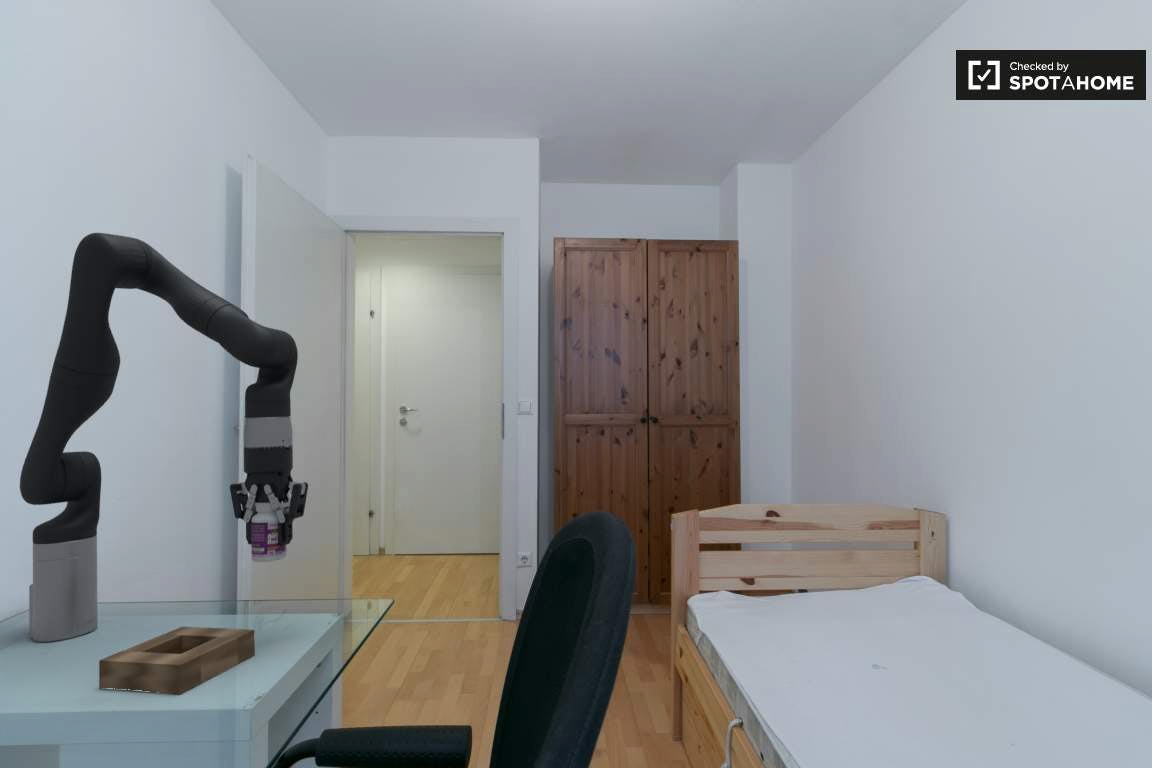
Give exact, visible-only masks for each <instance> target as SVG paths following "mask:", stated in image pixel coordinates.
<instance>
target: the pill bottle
mask: <svg viewBox="0 0 1152 768" xmlns="http://www.w3.org/2000/svg"><path fill="white" fill-rule="evenodd" d="M279 503H281V504H282V503H283V501H282V502H279ZM256 511H257V512H258V514H256V515H254V516H253V518H252V521H251V560H252V561H253V562H258V563H268V562H274V561H279V560H283V559H284V558H286V556H287V552H288V551H287V545H288V544H287V545H279V544H278V524H279V523H280V522H279V519H278V517H277V514H276V512H275V511H274V510H273V509H272V506H271V503H256Z"/></svg>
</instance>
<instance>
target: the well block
mask: <svg viewBox="0 0 1152 768" xmlns="http://www.w3.org/2000/svg"><path fill="white" fill-rule="evenodd" d="M255 641H256V640H255V629H247V628H246V629H243V628H223V627H222V628H221V627H200V626H198V627H196V626H195V627H193V626H180V627H178V628H176V629H173V630H171V631H168V632H166V633H164V634H161V635H158V636H156V637H153V638H151V639H149V640H146V641H144V642H141V643H139V644H135V645H133V646H131V647H129V648H126V649H124V650H121V651H119V652H117V653H114V654H111V655H109V656H106V657H104V658H101V659H100V660H98V670H99V671H98V673H99V675H98V678H99V679H98V682H99V684H98V685H99V687H98V688H113V689H114V688H115V689H127V690H128V689H130V690H142V691H150V692H159V693H158V694H164V693H167V694H166V695H182V694H184V693H186V692H188V691H191V690H192V689H194V688H196V687H197V686H200V685H202V684H203V683H205V682H207V681H209V680H211V679H213V678H215V677H217V676H218V675H220V674H222V673H224V672H225V671H226V672H227V671H228V670H230V669H232V668H234V667H235V666H237V665H239V664H241V663H243V662H245V661H247V660H249V659H250V658H253V657H254V656H255V654H256V653H255V652H256V651H255V650H256V649H255V648H256V647H255V646H256V645H255V644H256V643H255ZM150 692H149V693H150Z"/></svg>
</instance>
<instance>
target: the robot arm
mask: <svg viewBox="0 0 1152 768" xmlns="http://www.w3.org/2000/svg"><path fill="white" fill-rule="evenodd" d="M70 275H71V276H70V283H69V284H70V285H69V292H68V301H67V306H66V311H65V317H64V322H63V325H62V332H61V336H60V340H59V343H58V347H57V351H56V353H55V354H56V355H55V357H54V360H53V364H52V367H51V372H50V376H49V382H48V384H47V385H48V386H47V390H46V394H45V400H44V403H43V408H42V411H41V415H40V418H39V422H38V424H37V427H36V430H35V433H34V436H33V438H32V440H31V443H30V446H29V448H28V451H27V453H26V457H25V459H24V462H23V465H22V468H21V472H20V476H19V477H20V478H19V492H20V495H21V498H22V499H23V501H25V502H26V504H29V505H33V506H43V505H54V504H60V503H61V504H63V503H66V506H65V508H64V510H63V511H61V512H60V513H59V514H58V515H56V516H55V517H52V518H50V519H49V520H47V521H44V522H43V523H40V524H38V525H36V526H35V527H34V528H33V529H32V530H33V531H32V583H31V584H30V585H29V587H28V588H29V589H28V595H29V596H28V599H29V600H28V603H29V604H28V607H29V608H28V610H29V611H28V614H29V615H28V618H29V619H28V620H29V625H28V627H29V628H28V630H29V632H28V633H29V634H28V635H29V636H28V637H29V638H30V639H32V640H33V641H34V642H39V643H40V642H41V643H43V642H56V641H61V640H67V639H71V638H75V637H79V636H81V635H82V636H83V635H85V634H88V633H91V632H93V631H95V630H96V629H97V628H98V525H99V522H100V521H99V520H100V515H101V514H100V512H101V509H100V507H101V493H102V468H101V464H100V463H101V462H100V461H99V459H98V457H97V455H95V454H94V453H93V452H92V451H91V452H90V451H84V450H83V451H66V452H64V450H65V448H66V446H67V445H68V443H69V441H70V439H71V438H72V436H73V435H74V434H75V432H76V431H78V429H79V428H80V427H81V426H82V425H84V424H85V423H86V422H87V421H88V420H89V419H90V418H91V417H92V416H94V414H96V413H97V412H98V411H99V410H100V409H101V408H102V407H104V405H105V404H106V403H107V401H108V400H109V399H110V398H111V396H112V394H113V392H114V389H115V385H116V381H117V378H118V374H119V371H120V366H121V356H120V350H119V347H118V345H117V342H116V340H115V338H114V337H115V336H114V334H113V332H112V329H111V326H110V321H109V315H110V307H111V305H112V304H111V303H112V299H113V296H114V294H115V290H116V289H122V290H123V289H126V290H135V289H136V290H141V291H143V292H146V293H149V294H151V295H154V296H156V297H158V298H160V299H162V300H164V301H165V302H166V303H167V304H168V305H170V307H172V309H173V311H174V312H175V314H176V315H177V316H178V318H180V320H181V321H182V322H184V323H185V324H186V325H187V326H189V327H190V328H191V329H193V330H195V331H196V332H199V334H202V335H203V336H204V337H207V338H209V339H210V340H212V341H213V342H215V343H218V344H219V346H221V347H222V348H223V349H224V350H225V351H226V352H227V353H228V354H229V355H230V356H232V357H233V358H234V359H236V360H238V361H239V362H241V363H243V364H244V365H247V366H249V367H252V368H258V374H257V377H256V381H255V382H254V383H252V384H249V385H248V386H247V387H246V389H245V393H244V425H243V435H242V437H243V438H242V439H243V472H244V473H245V474H246V478H245V480H244V481H243V482H237V483H232V484H230V485H229V492H230V496H231V503H232V507H233V512H234V513H233V514H234V517H235V519H237V520H238V519H241V520H243V521H244V523H245V539H246V541H247V544H248V545H251V521H252V518H253V516H254V515H256V514H258V512H257V511H256V503H271V506H272V509H273V510H274V511H275V512H276V514H277V517H278V519H279V522H280V523H279V524H278V544H279V545H289V544H290V543H291V541H292V540H293V523H294V520H296V519H298V518H301V517H303V516H304V514H305V510H306V509H305V508H306V502H307V497H308V496H307V495H308V489H309V484H308V482H305V481H304V482H297V481H294V480H293V477H292V475H291V473H292V470H293V469H294V457H293V455H294V452H293V451H294V450H293V449H294V448H293V444H294V443H293V438H294V437H293V426H292V425H293V424H292V420H291V419H292V417H291V416H292V415H291V414H292V413H291V409H292V407H291V405H292V404H291V391H292V387H293V383H294V378H295V375H296V370H297V365H298V360H299V352H298V347H297V343H296V341H295V339H294V338H293V336H292V335H291V334H289V333H288V332H287V331H284V330H281V329H275V328H273V327H272V328H271V327H267V326H264V325H262V324H259V323H258V322H256V321H254V320H252V319H251V318H250V317H249V315H248V314H247V313H246V312H245V311H244V310H243V309H242V308H240V307H239V306H237V305H235V304H233V303H231V302H230V301H229V300H227V299H225V298H223V297H221V296H220V295H218V294H216V293H214V292H212V291H211V290H209V289H207V288H205V287H204V286H202V285H201V284H200V283H198V282H197V281H195V280H193V278H191V277H190V276H189V275H187V274H186V273H184V272H183V271H181V270H180V269H179V268H178V267H176V266H175V265H174V264H172V262H170V261H169V260H168V259H167V258H166V257H165V256H164V255H163V254H162V253H160V252H159V251H158V250H156V249H155V248H154V247H152V246H151V245H149V244H148V243H146V242H145V241H144V240H141V239H139V238H135V237H132V236H131V237H130V236H126V235H119V234H111V233H105V232H92V233H88V234H87V235H85V236H84V237H83V238H82V239H81V240H80V241H79V242H78V244H77V247H76V248H75V252H74V255H73V261H72V267H71V274H70ZM290 495H291V496H290ZM279 502H282V504H281V503H279Z"/></svg>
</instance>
